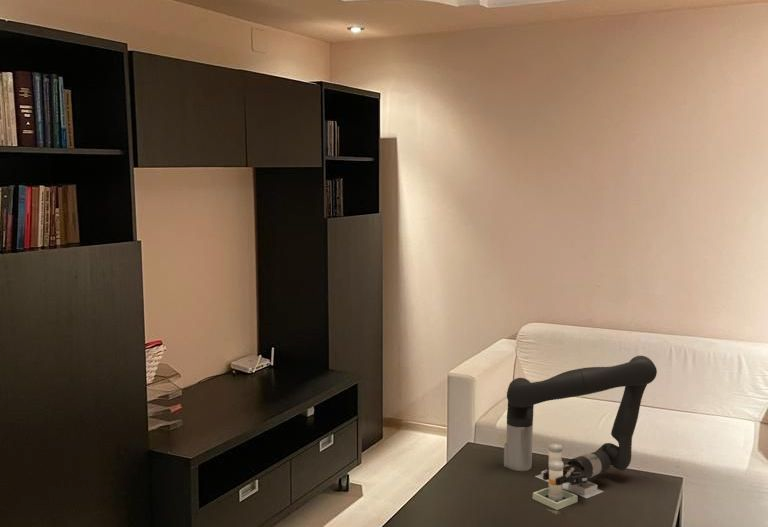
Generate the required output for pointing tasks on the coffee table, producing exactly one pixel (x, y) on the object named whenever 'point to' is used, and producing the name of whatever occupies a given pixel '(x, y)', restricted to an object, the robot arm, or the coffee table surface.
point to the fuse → (555, 451)
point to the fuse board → (578, 487)
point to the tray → (555, 505)
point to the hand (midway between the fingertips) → (550, 479)
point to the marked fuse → (555, 472)
